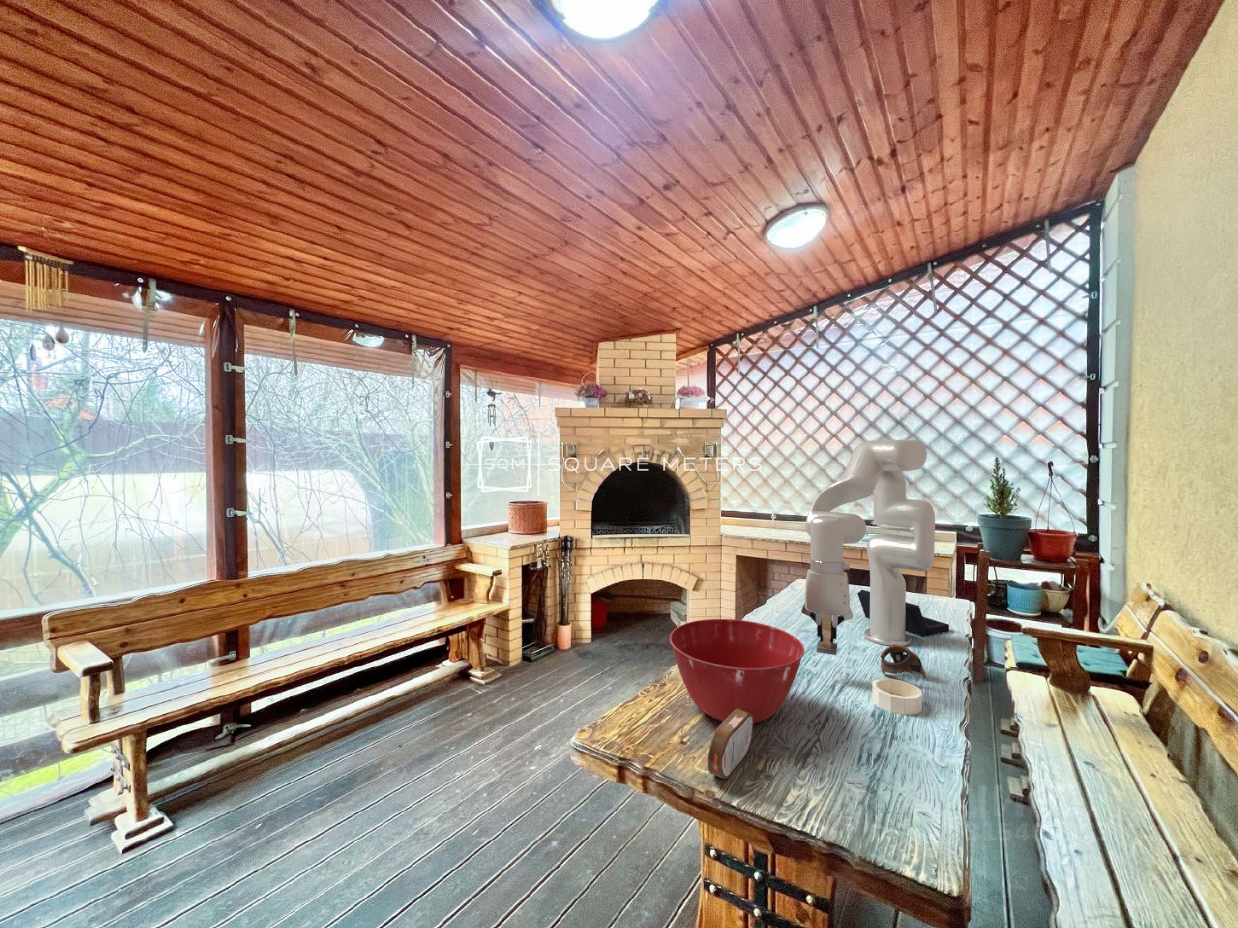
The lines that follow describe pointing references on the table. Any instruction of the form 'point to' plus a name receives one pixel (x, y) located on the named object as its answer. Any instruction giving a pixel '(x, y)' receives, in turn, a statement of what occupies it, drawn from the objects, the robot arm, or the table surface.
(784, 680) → the mixing bowl
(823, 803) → the table surface
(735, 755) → the tin
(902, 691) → the cream faceted bowl
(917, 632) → the black laptop
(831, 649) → the wall mounted peg
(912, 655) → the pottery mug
